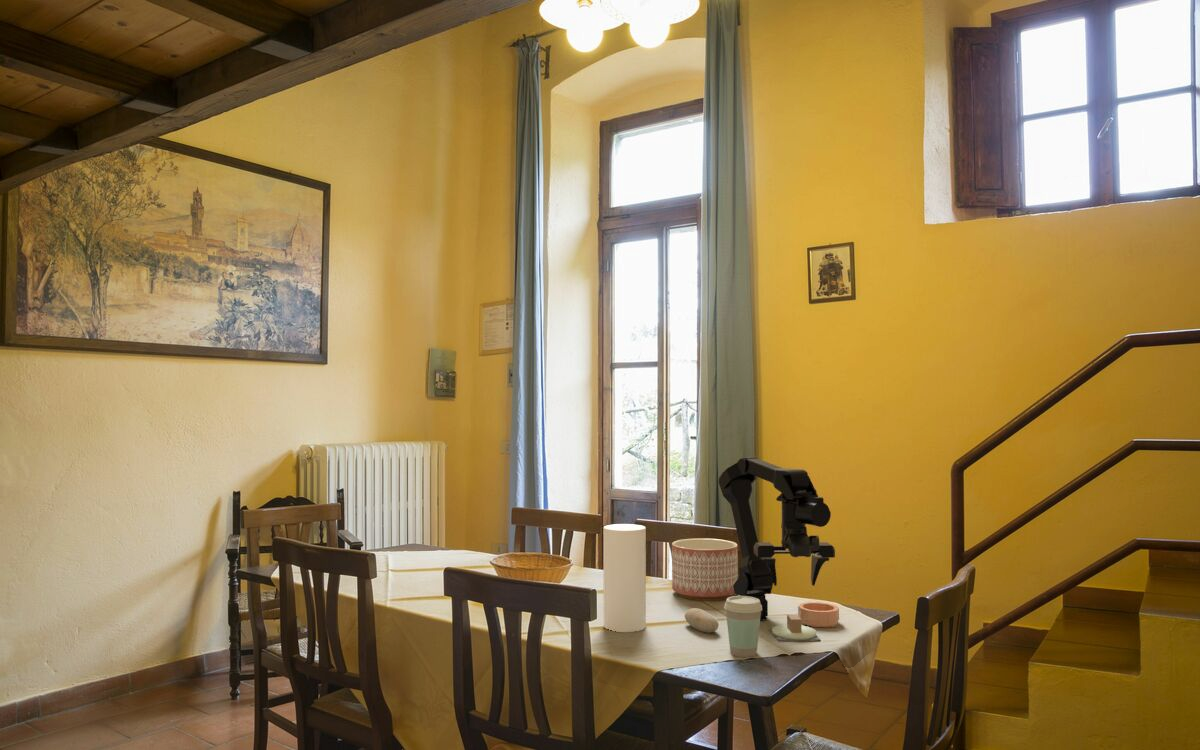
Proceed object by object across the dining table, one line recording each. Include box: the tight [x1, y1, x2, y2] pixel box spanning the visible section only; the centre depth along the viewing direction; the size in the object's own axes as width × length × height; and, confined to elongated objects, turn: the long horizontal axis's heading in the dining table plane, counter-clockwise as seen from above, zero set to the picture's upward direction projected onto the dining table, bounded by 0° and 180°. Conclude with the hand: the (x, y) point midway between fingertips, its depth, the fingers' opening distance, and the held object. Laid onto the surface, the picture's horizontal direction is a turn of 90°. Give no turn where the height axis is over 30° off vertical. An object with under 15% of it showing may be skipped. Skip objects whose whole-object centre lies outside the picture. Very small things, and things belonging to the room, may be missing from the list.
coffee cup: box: [723, 595, 762, 658], centre depth 184 cm, size 8×8×12 cm
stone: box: [684, 607, 720, 633], centre depth 203 cm, size 6×6×12 cm
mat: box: [768, 627, 821, 642], centre depth 198 cm, size 10×10×1 cm
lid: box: [771, 614, 817, 640], centre depth 198 cm, size 10×10×4 cm
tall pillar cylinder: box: [603, 523, 647, 633], centre depth 206 cm, size 11×11×25 cm
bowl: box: [797, 601, 840, 628], centre depth 209 cm, size 10×10×4 cm
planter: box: [671, 537, 739, 601], centre depth 240 cm, size 19×19×15 cm
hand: (794, 585), depth 199 cm, fingers open, 9 cm apart
